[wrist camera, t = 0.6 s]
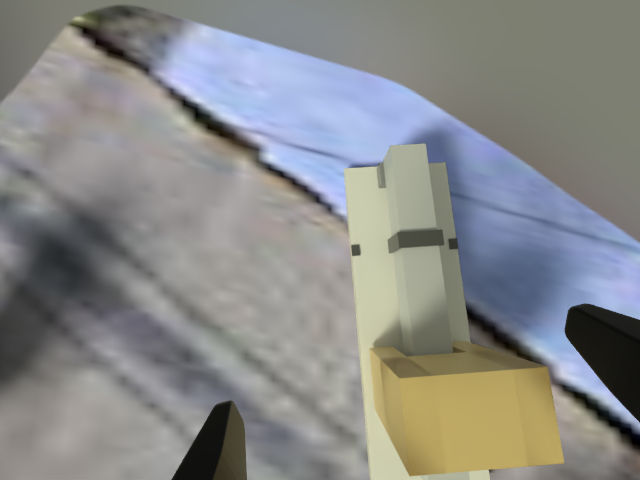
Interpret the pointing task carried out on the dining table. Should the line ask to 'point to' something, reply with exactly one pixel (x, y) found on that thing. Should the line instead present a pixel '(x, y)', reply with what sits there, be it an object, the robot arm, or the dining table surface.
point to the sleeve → (465, 409)
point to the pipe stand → (403, 278)
